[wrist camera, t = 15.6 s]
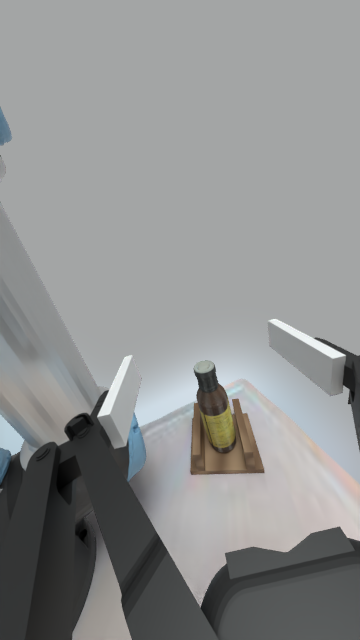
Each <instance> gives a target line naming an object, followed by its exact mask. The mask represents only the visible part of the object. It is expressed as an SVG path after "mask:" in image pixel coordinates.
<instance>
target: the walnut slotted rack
mask: <svg viewBox="0 0 360 640" xmlns="http://www.w3.org/2000/svg"><path fill="white" fill-rule="evenodd" d="M232 402H233V407H234V413H235V414H233V415H232V419H233V423H234V428H235V432H236V444H235V446H234V448H233V449H231V450H230V451H229V452H226V453H221V452H217V451H216V450H214V448H213V447H212V446H211V444H210V442H209V439H208V437H207V433H206V430H205V427H204V423H203V420H202V417H201V413H200V410H199V404H198V403H194V418H193V419H192V445H191V471H190V472H191V474H192V475H193V474H233V473H264V468H263V464H262V461H261V458H260V454H259V451H258V448H257V445H256V441H255V438H254V435H253V431H252V428H251V425H250V422H249V418H248V415H247V413H245V414H242V410H241V407H240V403H239V399H232Z"/></svg>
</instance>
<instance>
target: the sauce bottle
mask: <svg viewBox="0 0 360 640" xmlns="http://www.w3.org/2000/svg"><path fill="white" fill-rule="evenodd" d="M215 372H216V369H215V365H214V363H213V362H211V361H201V362H199V363H197V364H196V365H195V366H194V373H195V376H196V377H197V379H198V385H199V389H198V392H197V401H198V404H199V410H200V413H201V417H202V420H203V423H204V427H205V430H206V433H207V437H208V439H209V442H210V444H211V446H212V447H213V448H214V450H216V451H217V452H221V453H226V452H229V451H230V450H231V449H233V448H234V446H235V444H236V432H235V428H234V423H233V419H232V414H231V410H230V406H229V401H228V397H227V394H226V392H225V390H224V388H223V387H222V386H221V385H220V384H219V383H218V380H217V377H216V373H215Z"/></svg>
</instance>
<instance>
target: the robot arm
mask: <svg viewBox="0 0 360 640" xmlns="http://www.w3.org/2000/svg"><path fill="white" fill-rule="evenodd" d="M11 139H12V136H11V131H10V128H9V126H8V123H7V121H6V119H5V117H4V115H3V112H2V110H1V108H0V145H3V144H4V143H5V142H9V141H10V140H11ZM5 173H6V167H5V165H4V162H3V160H2V158H1V156H0V182H1V180H2V178H3V177H4V175H5ZM268 331H269V344H270V347H271V348H272V349H274V350H275V351H276V352H277V353H279V354H280V355H281V356H282V357H283V358H285V359H286V360H287V361H288V362H289V363H291V364H292V365H293V366H294V367H296V368H297V369H298V370H299V371H301V372H302V373H303V374H304V375H305V376H306V377H308V378H309V379H310V380H312V381H313V382H314V383H315V384H316V385H317V386H319V387H320V388H321V389H322V390H324V391H325V392H326V393H327V394H328V395H330V396H333V395H337V394H341V393H343V385H344V386H345V387H347V388H349V389H350V391H349V400H348V404H351V407H352V412H353V417H354V423H355V428H356V434H357V439H358V444H359V450H360V356H356V355H354V354H352V353H350V352H348V351H346V350H344V349H342V348H340V347H337V346H336V345H334V344H332V343H330V342H328V341H326V340H323V339H320V338H312V337H310V336H308V335H306V334H304V333H302V332H300V331H298V330H296V329H294V328H293V327H291V326H289V325H287V324H285V323H283V322H281V321H279V320H277V319H273V320H269V321H268ZM141 379H142V378H141V375H140V373H139V370H138V368H137V365H136V363H135V360H134V358H133V355H130V356H127V357H125V358H124V360H123V362H122V364H121V367H120V368H119V371H118V373H117V375H116V377H115V379H114V381H113V384H112V386H111V388H110V389H108V388H105V387H98V386H97V385H96V383H95V381H94V379H93V377H92V375H91V373H90V371H89V369H88V367H87V366H86V364H85V362H84V360H83V358H82V356H81V354H80V352H79V350H78V349H77V347H76V345H75V343H74V341H73V339H72V337H71V335H70V333H69V331H68V330H67V328H66V326H65V324H64V322H63V320H62V318H61V316H60V314H59V313H58V311H57V309H56V307H55V305H54V303H53V301H52V299H51V298H50V295H49V294H48V292H47V290H46V288H45V286H44V284H43V282H42V280H41V279H40V277H39V275H38V273H37V271H36V269H35V267H34V265H33V263H32V262H31V260H30V258H29V256H28V254H27V252H26V250H25V248H24V246H23V244H22V242H21V241H20V239H19V237H18V235H17V233H16V231H15V229H14V227H13V225H12V224H11V222H10V220H9V218H8V216H7V214H6V212H5V210H4V208H3V207H2V205H1V203H0V414H1V415H2V416H3V417H4V418H5V420H7V422H8V423H9V424H10V425H11V426H12V427H13V428H14V429H15V430H16V431H17V432H18V433H19V434H20V435H21V436H22V437H23V438H24V439H25V440H24V442H23V445H22V448H21V451H20V452H19V453H17V454H15V455H13V456H11V453H10V451H9V450H4V449H3V448H0V640H72V631H73V629H74V627H75V625H76V623H77V620H78V618H79V616H80V613H81V611H82V608H83V606H84V603H85V600H86V597H87V594H88V591H89V588H90V584H91V580H92V576H93V571H94V565H95V557H96V541H95V535H94V531H93V529H92V527H91V525H90V524H89V522H88V521H87V520H86V519H85V518H84V517H85V516H86V515H88V514H89V513H90V512H91V511H92V510H94V512H95V515H96V518H97V521H98V524H99V527H100V530H101V533H102V536H103V539H104V541H105V544H106V547H107V550H108V553H109V556H110V559H111V562H112V565H113V568H114V571H115V574H116V577H117V580H118V583H119V586H120V589H121V593H122V599H121V603H122V608H123V612H124V615H125V619H126V622H127V625H128V628H129V632H130V635H131V638H132V640H360V541H357V540H354V539H350V538H347V537H346V535H345V534H344V532H343V531H342V529H341V528H340V527H336V528H332V529H328V530H323V531H319V532H315V533H311V534H310V535H309V536H307V537H306V538H305V539H304V540H303V541H301V542H300V543H299V544H298V545H297V546H295V547H294V548H293V549H292V550H290V551H289V552H279V551H273V550H268V549H262V548H257V547H250V548H246V549H241V550H237V551H233V552H228V553H225V556H226V561H227V564H226V565H225V566H223V567H222V568H221V569H220V570H219V571H218V573H217V574H216V575H215V577H214V578H213V580H212V581H211V583H210V585H209V587H208V589H207V591H206V594H205V596H204V599H203V602H202V605H201V608H200V606H199V605H198V603H197V601H196V599H195V598H194V596H193V594H192V593H191V591H190V589H189V587H188V586H187V584H186V582H185V580H184V579H183V577H182V575H181V573H180V572H179V570H178V568H177V566H176V565H175V563H174V561H173V560H172V558H171V556H170V554H169V553H168V551H167V549H166V547H165V546H164V544H163V542H162V541H161V539H160V537H159V535H158V534H157V532H156V530H155V529H154V527H153V525H152V523H151V522H150V520H149V518H148V516H147V515H146V513H145V511H144V509H143V508H142V506H141V504H140V502H139V501H138V499H137V497H136V496H135V494H134V492H133V490H132V489H131V487H130V485H129V483H128V482H129V481H130V479H131V478H132V477H133V476H134V475H135V474H136V473H137V472H138V471H139V470H141V469H142V467H143V466H144V464H145V461H146V449H145V444H144V440H143V437H142V434H141V431H140V428H139V427H138V422H137V419H136V416H135V413H134V409H135V405H136V401H137V396H138V392H139V388H140V383H141Z"/></svg>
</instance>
